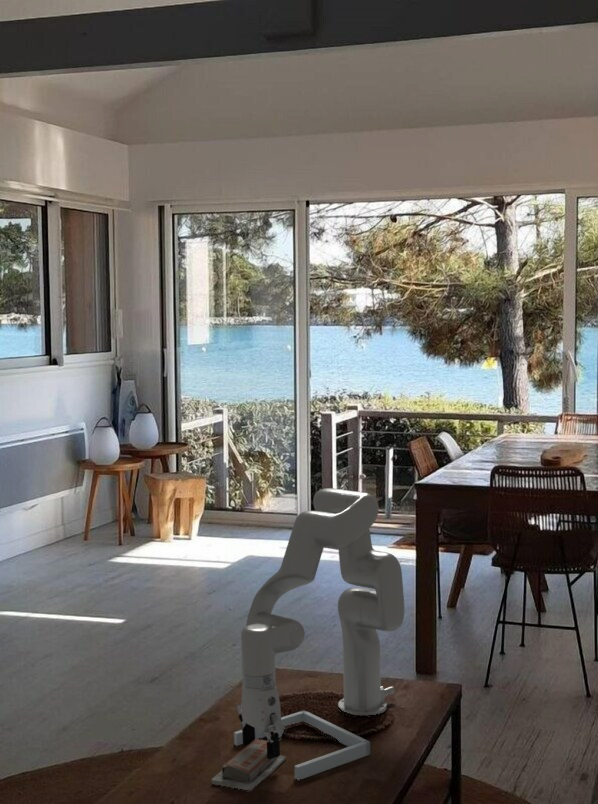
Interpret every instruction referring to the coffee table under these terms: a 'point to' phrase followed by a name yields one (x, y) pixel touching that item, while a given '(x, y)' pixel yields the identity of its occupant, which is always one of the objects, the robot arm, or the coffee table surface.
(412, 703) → the coffee table surface
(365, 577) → the robot arm
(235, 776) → the packaged product
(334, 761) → the open frame
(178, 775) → the coffee table surface
